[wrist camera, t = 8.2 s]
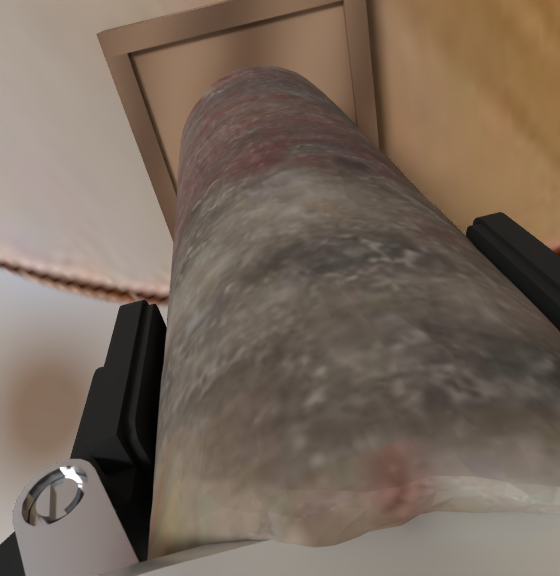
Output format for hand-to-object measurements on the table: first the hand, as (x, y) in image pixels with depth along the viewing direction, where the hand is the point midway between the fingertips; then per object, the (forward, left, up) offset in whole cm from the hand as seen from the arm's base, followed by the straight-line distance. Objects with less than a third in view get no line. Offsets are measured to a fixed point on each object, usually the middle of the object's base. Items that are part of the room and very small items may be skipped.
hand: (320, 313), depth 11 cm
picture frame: (0, 0, -17) cm, 17 cm away
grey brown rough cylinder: (0, 0, -13) cm, 13 cm away
